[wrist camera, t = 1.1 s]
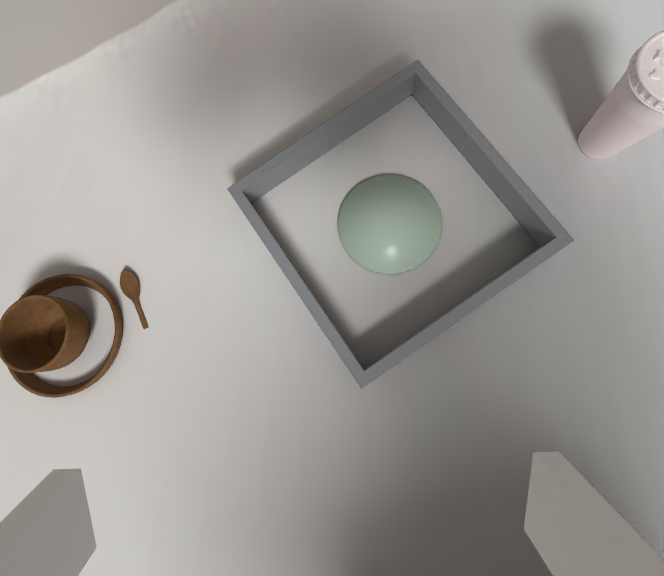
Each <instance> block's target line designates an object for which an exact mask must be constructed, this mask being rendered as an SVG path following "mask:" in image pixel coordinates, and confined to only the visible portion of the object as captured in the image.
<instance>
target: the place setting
mask: <svg viewBox="0 0 664 576" xmlns="http://www.w3.org/2000/svg"><path fill="white" fill-rule="evenodd" d="M71 285H81V286H87V287H90V288H92V289H94V290H96V291H98V292H99V293H101V294H102V295H103V296H104V297H105V298H106V299H107V300H108V302H109V304H110V306H111V309H112V311H113V315H114V321H115V335H114V342H113V346H112V349H111V352H110V354H109V356H108V358H107V360H106V362H105V364H104V365H103V367H102V368H101V370H100V371H99V372H98V373H97V374H96V375H95V376H93V377H92V378H90V379H89V380H87V381H85V382H83V383H80V384H78V385H74V386H67V387H61V386H54V385H51V384H48V383H46V382H44V381H42V380H41V379H39V378H38V377H37V376H36V375H35V374H34V373H33V372H44V371H52V370H56V369H60V368H62V367H65V366H67V365H69V364H70V363H72V362H73V361H74V360H76V359H77V358H78V357H79V356H80V354H81V353H82V352H83V350H84V348H85V347H86V344H87V342H88V338H89V323H88V320H87V317H86V315H85V314H84V312H83V311H82V310H81V309H80V308H79V307H78V306H77V305H76V304H74V303H72V302H70V301H68V300H65V299H61V298H57V297H51V296H46V295H48V294H49V293H50V292H52V291H54V290H56V289H59V288H61V287H65V286H71ZM120 286H121V289H122V291H123V293H124V294H125V295H126V296H127V297H128V298H130V299H131V300H132V301H133V303H134V305H135V307H136V310H137V312H138V315H139V318H140V321H141V324H142V326H143V329H146V328H148V324H147V321H146V318H145V316H144V313H143V311H142V309H141V306H140V303H139V294H140V285H139V281H138V279H137V277H136V276H135V275H134V274H133V273H132V272H131V271H129V270H127V269H125V270H123V271H122V272H121V276H120ZM121 340H122V318H121V314H120V310H119V308H118V305H117V303H116V302H115V300H114V298H113V297H112V295H111V294H110V293H109V292H108V291H107V290H106V289H105V288H104V287H103V286H101V285H100V284H99V283H97V282H95V281H93V280H91V279H89V278H86V277H83V276H79V275H72V274H64V275H57V276H53V277H50V278H47V279H44V280H42V281H41V282H39V283H37V284H35V285H34V286H33V287H31V288H30V289H29V290H28V291H26V292H25V293H24V294H23V295H22V297H21V298H20V299H19V300H18V301H16V302H15V303H14V304H12V305H11V306H10V307H9V308H8V309H7V310H6V312H5V313H4V315H3V316H2V318H1V320H0V357H1V359H2V360H3V362H4V363H5V364H6V365H7V367H8V369H9V371H10V373H11V374H12V376H13V377H14V379H15V380H16V381H17V382H18V383H19V384H20V385H21V386H22V387H23V388H25V389H26V390H28V391H30V392H31V393H34V394H36V395H39V396H44V397H63V396H68V395H72V394H75V393H78V392H80V391H82V390H84V389H86V388H88V387H90V386H91V385H93V384H94V383H95V382H97V381H98V380H99V379H100V378H101V377H102V376H103V375H104V374H105V373H106V372H107V371H108V369H109V368H110V366H111V365H112V363H113V362H114V360H115V358H116V356H117V353H118V351H119V348H120V344H121Z"/></svg>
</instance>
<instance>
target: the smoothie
mask: <svg viewBox="0 0 664 576" xmlns="http://www.w3.org/2000/svg"><path fill="white" fill-rule="evenodd" d="M662 127H664V31H662V32H659V33H657V34H655V35H654V36H652V37H651V38H650V39H648V40H647V41H646V42H645V43H644V45H643V46H641V47H640V48H639V49H637V50H636V52H635V53H634V55H633V56H632V57H631V59H630V62H629V65H628V68H627V71H626V72H625V73H624V75H623V76H622V77H621V79H620V80H619V82H618V83H617V84H616V86H615V87H614V88H613V90H612V91H611V92H610V94H609V95H608V96H607V98H606V99H605V100H604V102H603V103H602V104H601V106H600V107H599V108H598V110H597V111H596V112H595V114H594V115H593V116H592V118H591V119H590V120H589V122H588V123H587V124H586V126H585V127H584V128H583V130H582V131H581V132H580V134H579V137H578V146H579V148H580V150H581V151H582V152H583V154H585V155H586V156H587V157H589V158H592V159H596V160H602V159H607V158H609V157H611V156H613V155H614V154H616V153H618V152H620V151H621V150H623V149H625V148H627V147H628V146H630V145H632V144H634V143H636V142H637V141H639V140H641V139H643V138H644V137H646V136H648V135H650V134H651V133H653V132H655V131H657V130H659V129H660V128H662Z"/></svg>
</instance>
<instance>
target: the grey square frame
mask: <svg viewBox="0 0 664 576" xmlns="http://www.w3.org/2000/svg"><path fill="white" fill-rule="evenodd" d="M411 94H412V96H413V97H414V98H415V99H416V100H417V102H418V103H419V104H420V105H421V106H422V108H423V109H424V110H425V111H426V112H427V113H428V115H429V116H430V117H431V118H432V119H433V121H434V122H435V123H436V124H437V125H438V127H439V128H440V129H441V130H442V131H443V132H444V134H445V135H446V136H447V137H448V138H449V140H450V141H451V142H452V143H453V144H454V146H455V147H456V148H457V149H458V150H459V151H460V153H461V154H462V155H463V156H464V157H465V159H466V160H467V161H468V162H469V163H470V165H471V166H472V167H473V168H474V169H475V170H476V172H477V173H478V174H479V175H480V176H481V178H482V179H483V180H484V181H485V182H486V183H487V185H488V186H489V187H490V188H491V189H492V191H493V192H494V193H495V194H496V195H497V197H498V198H499V199H500V200H501V201H502V202H503V204H504V205H505V206H506V207H507V208H508V210H509V211H510V212H511V213H512V214H513V216H514V217H515V218H516V219H517V220H518V221H519V223H520V224H521V225H522V226H523V227H524V229H525V230H526V231H527V232H528V233H529V235H530V236H531V237H532V238H533V239H534V240H535V242H536V243H537V244H538V245H539V246H540V247H539V248H538V249H536V250H535V251H533V252H532V253H531V254H529V255H528V256H526V257H525V258H523V259H522V260H520V261H519V262H518V263H516V264H515V265H513V266H512V267H510V268H509V269H508V270H506V271H505V272H503V273H502V274H500V275H499V276H498V277H496V278H495V279H493V280H492V281H490V282H489V283H487V284H486V285H485V286H483V287H482V288H480V289H479V290H477V291H476V292H475V293H473V294H472V295H470V296H469V297H467V298H466V299H464V300H463V301H462V302H460V303H459V304H457V305H456V306H454V307H453V308H452V309H450V310H449V311H447V312H446V313H444V314H443V315H441V316H440V317H439V318H437V319H436V320H434V321H433V322H431V323H430V324H429V325H427V326H426V327H424V328H423V329H421V330H420V331H419V332H417V333H416V334H414V335H413V336H411V337H410V338H408V339H407V340H406V341H404V342H403V343H401V344H400V345H398V346H397V347H396V348H394V349H393V350H391V351H390V352H388V353H387V354H385V355H384V356H383V357H381V358H380V359H378V360H377V361H375V362H374V363H373V364H371V365H370V366H368V367H367V368H365V369H364V368H363V367H362V365H361V364H360V362H359V361H358V360H357V358H356V357H355V355H354V354H353V352H352V351H351V349H350V348H349V346H348V345H347V343H346V342H345V340H344V339H343V338H342V336H341V335H340V333H339V332H338V330H337V329H336V327H335V326H334V324H333V323H332V321H331V320H330V318H329V317H328V315H327V314H326V313H325V311H324V310H323V308H322V307H321V305H320V304H319V302H318V301H317V299H316V298H315V296H314V295H313V293H312V292H311V290H310V289H309V288H308V286H307V285H306V283H305V282H304V280H303V279H302V277H301V276H300V274H299V273H298V271H297V270H296V268H295V267H294V265H293V264H292V263H291V261H290V260H289V258H288V257H287V255H286V254H285V252H284V251H283V249H282V248H281V246H280V245H279V243H278V242H277V241H276V239H275V238H274V236H273V235H272V233H271V232H270V230H269V229H268V227H267V226H266V224H265V223H264V221H263V220H262V218H261V217H260V216H259V214H258V213H257V211H256V210H255V208H254V207H253V205H252V204H251V203H252V202H254V201H255V200H257V199H258V198H260V197H261V196H263V195H264V194H266V193H267V192H269V191H270V190H271V189H273V188H274V187H276V186H277V185H279V184H280V183H282V182H283V181H285V180H286V179H288V178H289V177H291V176H292V175H294V174H295V173H296V172H298V171H299V170H301V169H302V168H304V167H305V166H307V165H308V164H310V163H311V162H313V161H314V160H316V159H317V158H319V157H320V156H322V155H323V154H324V153H326V152H327V151H329V150H330V149H332V148H333V147H335V146H336V145H338V144H339V143H341V142H342V141H344V140H345V139H347V138H348V137H350V136H351V135H352V134H354V133H355V132H357V131H358V130H360V129H361V128H363V127H364V126H366V125H367V124H369V123H370V122H372V121H373V120H375V119H376V118H377V117H379V116H380V115H382V114H383V113H385V112H386V111H388V110H389V109H391V108H392V107H394V106H395V105H397V104H398V103H400V102H401V101H403V100H404V99H405V98H407V97H408V96H410V95H411ZM228 191H229V192H230V194H231V195H232V197H233V198H234V200H235V201H236V203H237V204H238V206H239V207H240V209H241V210H242V211H243V213H244V214H245V216H246V217H247V219H248V220H249V222H250V223H251V225H252V226H253V228H254V229H255V231H256V232H257V234H258V235H259V237H260V238H261V240H262V241H263V243H264V244H265V246H266V247H267V249H268V250H269V252H270V253H271V255H272V256H273V258H274V259H275V261H276V262H277V264H278V265H279V267H280V268H281V270H282V271H283V273H284V274H285V276H286V277H287V279H288V280H289V282H290V283H291V284H292V286H293V287H294V289H295V290H296V292H297V293H298V295H299V296H300V298H301V299H302V301H303V302H304V304H305V305H306V307H307V308H308V310H309V311H310V313H311V314H312V316H313V317H314V319H315V320H316V322H317V323H318V325H319V326H320V328H321V329H322V331H323V332H324V334H325V335H326V337H327V338H328V340H329V341H330V343H331V344H332V346H333V347H334V349H335V350H336V352H337V353H338V354H339V356H340V357H341V359H342V360H343V362H344V363H345V365H346V366H347V368H348V369H349V371H350V372H351V374H352V375H353V377H354V378H355V380H356V381H357V383H358V384H359V386H360V387H361V388H363V387H364V386H366V385H367V384H368V383H370V382H371V381H373V380H374V379H376V378H377V377H379V376H380V375H381V374H383V373H384V372H386V371H387V370H389V369H390V368H391V367H393V366H394V365H396V364H397V363H399V362H400V361H401V360H403V359H404V358H406V357H407V356H409V355H410V354H411V353H413V352H414V351H416V350H417V349H419V348H420V347H422V346H423V345H424V344H426V343H427V342H429V341H430V340H432V339H433V338H434V337H436V336H437V335H439V334H440V333H442V332H443V331H444V330H446V329H447V328H449V327H450V326H452V325H453V324H455V323H456V322H457V321H459V320H460V319H462V318H463V317H465V316H466V315H467V314H469V313H470V312H472V311H473V310H475V309H476V308H477V307H479V306H480V305H482V304H483V303H485V302H486V301H487V300H489V299H490V298H492V297H493V296H495V295H496V294H498V293H499V292H500V291H502V290H503V289H505V288H506V287H508V286H509V285H510V284H512V283H513V282H515V281H516V280H518V279H519V278H520V277H522V276H523V275H525V274H526V273H528V272H529V271H531V270H532V269H533V268H535V267H536V266H538V265H539V264H541V263H542V262H543V261H545V260H546V259H548V258H549V257H551V256H552V255H553V254H555V253H556V252H558V251H559V250H561V249H562V248H563V247H565V246H566V245H568V244H569V243H571V242H572V241H574V239H573V238H572V237H571V236H570V235H569V233H568V232H567V231H566V230H565V229H564V228H563V227H562V225H561V224H560V223H559V222H558V221H557V220H556V218H555V217H554V216H553V215H552V214H551V213H550V212H549V210H548V209H547V208H546V207H545V206H544V205H543V203H542V202H541V201H540V200H539V199H538V198H537V197H536V195H535V194H534V193H533V192H532V191H531V190H530V188H529V187H528V186H527V185H526V184H525V183H524V182H523V180H522V179H521V178H520V177H519V176H518V175H517V173H516V172H515V171H514V170H513V169H512V168H511V167H510V165H509V164H508V163H507V162H506V161H505V160H504V159H503V157H502V156H501V155H500V154H499V153H498V152H497V150H496V149H495V148H494V147H493V146H492V145H491V144H490V142H489V141H488V140H487V139H486V138H485V137H484V135H483V134H482V133H481V132H480V131H479V130H478V129H477V127H476V126H475V125H474V124H473V123H472V122H471V120H470V119H469V118H468V117H467V116H466V115H465V114H464V112H463V111H462V110H461V109H460V108H459V107H458V105H457V104H456V103H455V102H454V101H453V100H452V99H451V97H450V96H449V95H448V94H447V93H446V92H445V91H444V89H443V88H442V87H441V86H440V85H439V84H438V82H437V81H436V80H435V79H434V78H433V77H432V76H431V74H430V73H429V72H428V71H427V70H426V69H425V67H424V66H423V65H422V64H421V63H420V62H419V61H418V60H417V61H415V62H414V63H412V64H411V65H409V66H408V67H406V68H405V69H403V70H402V71H401V72H399V73H398V74H396V75H395V76H393V77H392V78H390V79H389V80H387V81H386V82H384V83H383V84H381V85H380V86H378V87H377V88H375V89H374V90H372V91H371V92H369V93H368V94H367V95H365V96H364V97H362V98H361V99H359V100H358V101H356V102H355V103H353V104H352V105H350V106H349V107H347V108H346V109H344V110H343V111H341V112H340V113H338V114H337V115H336V116H334V117H333V118H331V119H330V120H328V121H327V122H325V123H324V124H322V125H321V126H319V127H318V128H316V129H315V130H313V131H312V132H310V133H309V134H307V135H306V136H304V137H303V138H302V139H300V140H299V141H297V142H296V143H294V144H293V145H291V146H290V147H288V148H287V149H285V150H284V151H282V152H281V153H279V154H278V155H276V156H275V157H273V158H272V159H270V160H269V161H268V162H266V163H265V164H263V165H262V166H260V167H259V168H257V169H256V170H254V171H253V172H251V173H250V174H248V175H247V176H245V177H244V178H242V179H241V180H239V181H238V182H237V183H235V184H234V185H232V186H231V187H229V188H228ZM338 231H339V236H340V240H341V243H342V245H343V247H344V249H345V250H346V252H347V254H348V255H349V256H350V257H351V258H352V259H353V260H354V261H355V262H356V263H357V264H359V265H360V266H362V267H364V268H365V269H367V270H370V271H373V272H376V273H380V274H398V273H403V272H407V271H409V270H412V269H414V268H416V267H417V266H419V265H421V264H422V263H423V262H424V261H426V259H427V258H428V257H429V256H430V255H431V254H432V252H433V251H434V250H435V248H436V246H437V244H438V242H439V239H440V236H441V231H442V217H441V212H440V209H439V206H438V204H437V202H436V200H435V198H434V197H433V196H432V194H431V193H430V192H429V191H428V190H427V189H426V188H425V187H424V186H423V185H421V184H420V183H418V182H416V181H414V180H412V179H410V178H407V177H404V176H399V175H382V176H377V177H373V178H370V179H368V180H366V181H364V182H362V183H361V184H359V185H358V186H357V187H355V188H354V189H353V190H352V191H351V192H350V193H349V195H348V196H347V197H346V199H345V201H344V202H343V204H342V207H341V209H340V213H339V218H338Z"/></svg>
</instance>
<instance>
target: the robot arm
mask: <svg viewBox="0 0 664 576" xmlns="http://www.w3.org/2000/svg"><path fill="white" fill-rule="evenodd" d="M524 530H525V532H526V534H527V535H528V537H529V538H530V540H531V542H532V543H533V545H534V546H535V548H536V550H537V551H538V553H539V554H540V556H541V558H542V559H543V561H544V562H545V564H546V566H547V567H548V569H549V570H550V572H551V574H552V575H553V576H664V560H663V559H662V558H661V557H660V556H659V555H658V554H657V553H656V552H655V551H654V549H653V548H652V547H651V546H650V545H649V544H648V543H647V542H646V541H645V540H644V539H643V538H642V537H641V536H640V535H639V534H638V533H637V532H636V531H635V530H634V529H633V528H632V527H631V526H630V525H629V524H628V523H627V522H626V520H625V519H624V518H623V517H622V516H621V515H620V514H619V513H618V512H617V511H616V510H615V509H614V508H613V507H612V506H611V505H610V504H609V503H608V502H607V501H606V500H605V499H604V498H603V497H602V496H601V495H600V494H599V493H598V491H597V490H596V489H595V488H594V487H593V486H592V485H591V484H590V483H589V482H588V481H587V480H586V479H585V478H584V477H583V476H582V475H581V474H580V473H579V472H578V471H577V470H576V469H575V468H574V467H573V466H572V465H571V464H570V462H569V461H568V460H567V459H566V458H565V457H564V456H563V455H562V454H561V453H560V452H559V451H553V452H533V458H532V466H531V474H530V482H529V490H528V498H527V506H526V514H525V522H524ZM95 549H96V542H95V537H94V532H93V527H92V522H91V517H90V512H89V507H88V502H87V497H86V492H85V487H84V482H83V477H82V472H81V469H58V470H53V471H52V472H51V473H50V474H49V475H48V476H47V477H46V478H45V479H44V480H43V481H42V482H41V483H40V484H39V485H38V486H37V487H36V488H35V489H34V490H33V491H32V492H31V493H30V494H29V495H28V496H27V497H26V498H25V499H24V500H23V501H22V502H21V503H20V504H19V505H18V506H16V507H15V508H14V509H13V510H12V511H11V512H10V513H9V514H8V515H7V516H6V517H5V518H4V519H3V520H2V521H1V522H0V576H78V575H79V573H80V572H81V570H82V569H83V567H84V566H85V564H86V563H87V561H88V560H89V558H90V556H91V555H92V553H93V552H94V550H95Z"/></svg>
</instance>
